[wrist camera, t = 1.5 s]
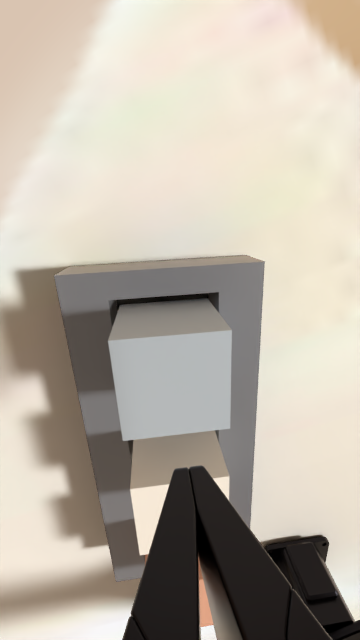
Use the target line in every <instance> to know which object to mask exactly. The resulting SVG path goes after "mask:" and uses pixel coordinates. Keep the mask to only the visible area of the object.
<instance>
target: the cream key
mask: <svg viewBox="0 0 360 640" xmlns="http://www.w3.org/2000/svg"><path fill="white" fill-rule="evenodd" d="M200 465H202V466H204V467H205V468H206V470H207V471H208V473H209V474H210V475H211V477H212V478H213V479H214V481H215V482H216V483H217V485H218V486H219V488H220V489H221V490H222V492H223V493H224V494H225V496H226V497H227V498H228V500H229V473H228V470H227V467H226V464H225V461H224V458H223V454H222V451H221V448H220V445H219V442H218V439H217V435H216V432H215V430H214V431H205V432H197V433H188V434H179V435H171V436H162V437H153V438H145V439H136V440H133V453H132V468H131V483H130V492H131V499H132V506H133V513H134V519H135V526H136V533H137V539H138V546H139V553H140V555H146V554H149V550H150V547H151V544H152V540H153V537H154V534H155V530H156V527H157V524H158V520H159V517H160V514H161V511H162V507H163V504H164V501H165V497H166V494H167V491H168V487H169V484H170V481H171V477H172V474H173V471H174V469H176V468H184V467H187V468H188V469H189V468H190V467H192V466H200Z"/></svg>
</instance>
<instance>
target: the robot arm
mask: <svg viewBox="0 0 360 640" xmlns="http://www.w3.org/2000/svg"><path fill="white" fill-rule="evenodd" d="M328 547H329V542H328V540H327V538H326V537H318V538H311V539H305V540H298V541H292V542H285V543H279V544H272V545H268V546H266V547H265V549H264V548H263V546H262V545H261V543H260V542H259V541H258V539H257V538H256V537H255V535H254V534H253V533H252V531H251V530H250V528H249V527H248V526H247V524H246V523H245V522H244V520H243V519H242V518H241V516H240V515H239V513H238V512H237V511H236V509H235V508H234V507H233V505H232V504H231V503H230V501H229V500H228V498H227V497H226V496H225V494H224V493H223V492H222V490H221V489H220V488H219V486H218V485H217V483H216V482H215V481H214V479H213V478H212V477H211V475H210V474H209V473H208V471H207V470H206V468H205V467H204V466H202V465H200V466H192V467H190V468H189V469H188V468H187V467H184V468H176V469H174V471H173V474H172V477H171V481H170V484H169V487H168V491H167V494H166V497H165V501H164V504H163V507H162V511H161V514H160V517H159V520H158V524H157V527H156V530H155V534H154V537H153V540H152V544H151V547H150V550H149V554H148V557H147V560H146V564H145V567H144V570H143V574H142V577H141V580H140V584H139V587H138V590H137V593H136V597H135V600H134V603H133V607H132V610H131V616H130V617H129V619H128V623H127V626H126V629H125V633H124V636H123V639H122V640H201V628H200V595H199V564H198V557H199V563H200V567H201V572H202V576H203V581H204V585H205V589H206V594H207V598H208V602H209V607H210V611H211V615H212V620H213V624H214V628H215V633H216V637H217V640H360V620H358V621H356V622H355V620H354V618H353V617H352V615H351V613H350V611H349V609H348V607H347V605H346V603H345V601H344V599H343V597H342V595H341V593H340V591H339V589H338V587H337V585H336V584H335V582H334V580H333V578H332V576H331V574H330V572H329V570H328V568H327V566H326V564H325V562H326V557H327V552H328Z"/></svg>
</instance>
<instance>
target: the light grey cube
mask: <svg viewBox="0 0 360 640" xmlns="http://www.w3.org/2000/svg"><path fill="white" fill-rule="evenodd" d="M108 344H109V351H110V358H111V364H112V371H113V378H114V385H115V391H116V398H117V405H118V412H119V418H120V425H121V432H122V438H123V441H127V440H136V439H145V438H153V437H162V436H171V435H179V434H188V433H197V432H205V431H214V430H222V429H230V411H231V351H232V330H231V328H230V327H229V326H228V324H227V323H226V322H225V320H224V319H223V318H222V317H221V315H220V314H219V313H218V311H217V310H216V309H215V307H214V306H213V305H212V303H211V302H210V301H209V299H208V298H204V299H191V300H178V301H165V302H151V303H138V304H125V305H120V307H119V310H118V312H117V315H116V318H115V321H114V324H113V327H112V330H111V333H110V336H109V339H108Z"/></svg>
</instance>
